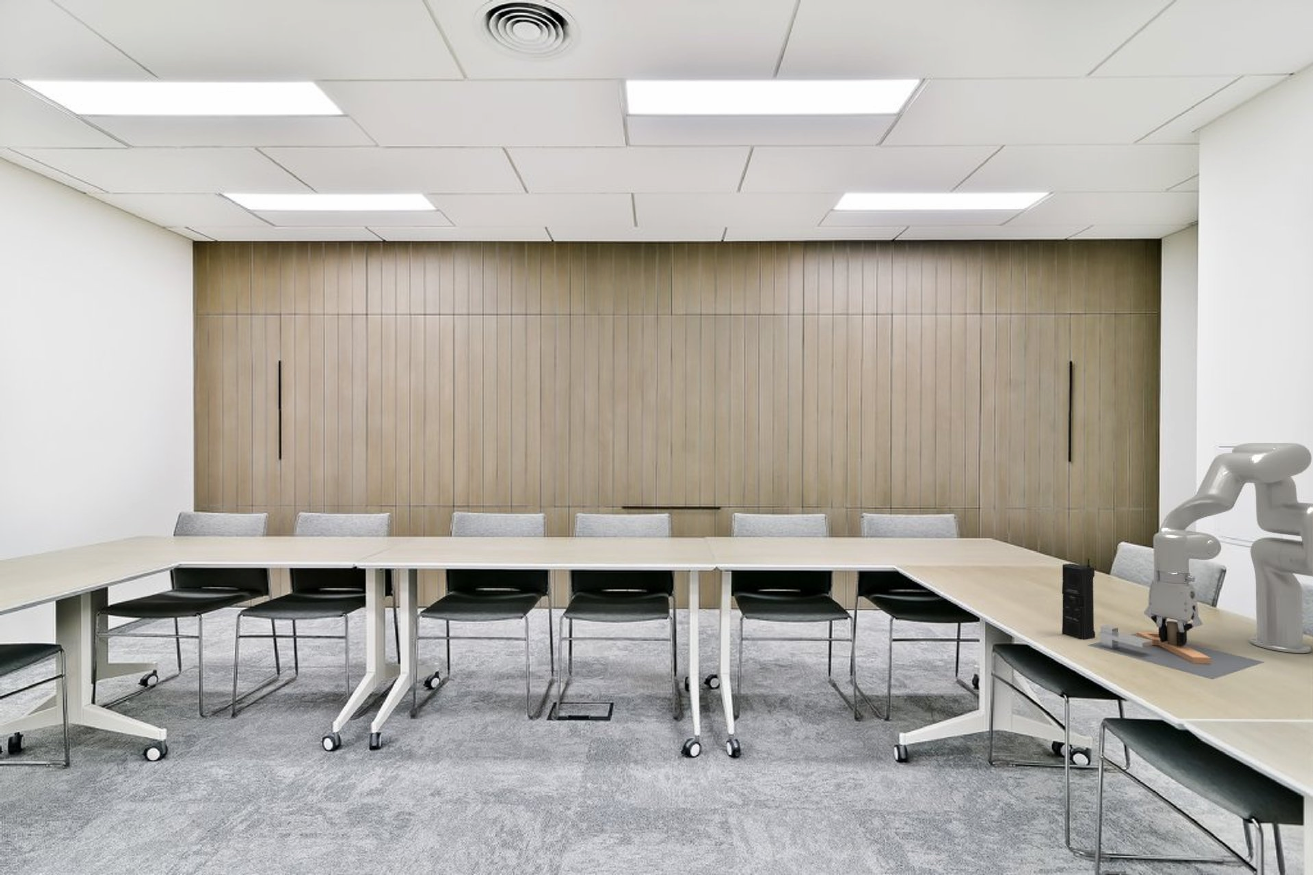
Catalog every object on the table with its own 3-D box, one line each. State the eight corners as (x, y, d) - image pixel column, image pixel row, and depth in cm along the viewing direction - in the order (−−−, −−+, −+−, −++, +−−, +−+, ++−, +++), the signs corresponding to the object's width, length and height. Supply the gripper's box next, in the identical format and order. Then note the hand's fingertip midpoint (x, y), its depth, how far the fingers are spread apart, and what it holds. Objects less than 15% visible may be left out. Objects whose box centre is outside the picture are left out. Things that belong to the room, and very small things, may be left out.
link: (1137, 637, 184) (1136, 611, 184) (1163, 637, 183) (1162, 611, 183) (1187, 663, 163) (1185, 634, 163) (1217, 663, 162) (1215, 634, 162)
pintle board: (1139, 637, 190) (1139, 620, 190) (1264, 667, 164) (1264, 648, 164) (1087, 650, 178) (1087, 632, 178) (1212, 685, 152) (1212, 664, 152)
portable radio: (1057, 637, 190) (1056, 556, 190) (1070, 635, 192) (1069, 554, 192) (1082, 645, 183) (1081, 560, 183) (1096, 642, 185) (1095, 559, 185)
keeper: (1109, 648, 179) (1108, 624, 179) (1152, 660, 169) (1152, 634, 169) (1098, 651, 177) (1098, 626, 177) (1142, 663, 167) (1142, 637, 167)
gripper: (1214, 581, 167) (1216, 649, 167) (1144, 570, 182) (1146, 633, 181) (1200, 584, 164) (1202, 654, 163) (1130, 573, 178) (1132, 637, 178)
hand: (1172, 642), depth 172 cm, fingers closed on link, 3 cm apart
